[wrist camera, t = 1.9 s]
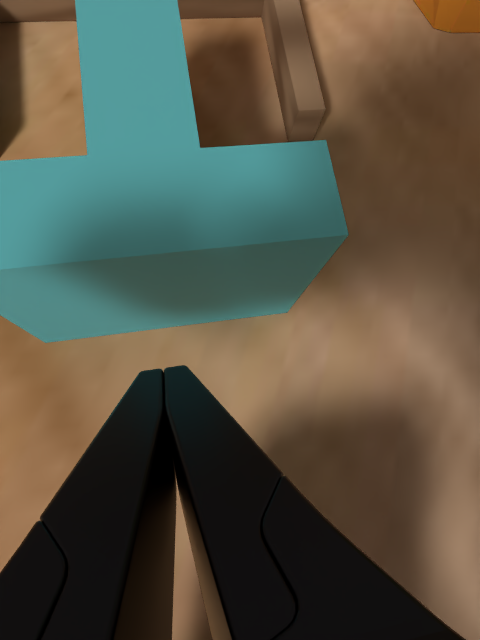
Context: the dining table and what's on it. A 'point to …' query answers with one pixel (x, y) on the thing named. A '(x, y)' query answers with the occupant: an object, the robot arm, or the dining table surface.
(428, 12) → the decorative tree
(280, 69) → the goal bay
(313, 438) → the dining table surface
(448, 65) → the dining table surface
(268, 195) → the t block
